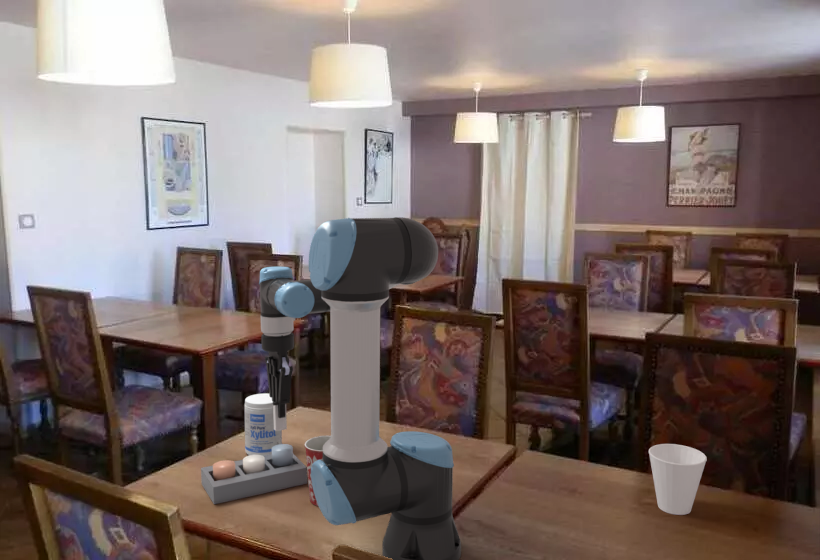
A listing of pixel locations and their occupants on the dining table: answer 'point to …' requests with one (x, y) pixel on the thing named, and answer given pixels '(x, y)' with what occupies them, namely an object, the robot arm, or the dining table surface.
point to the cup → (676, 476)
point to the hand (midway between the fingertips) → (280, 429)
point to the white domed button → (253, 464)
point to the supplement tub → (260, 425)
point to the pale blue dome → (282, 454)
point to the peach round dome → (223, 470)
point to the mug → (314, 459)
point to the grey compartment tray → (253, 480)
